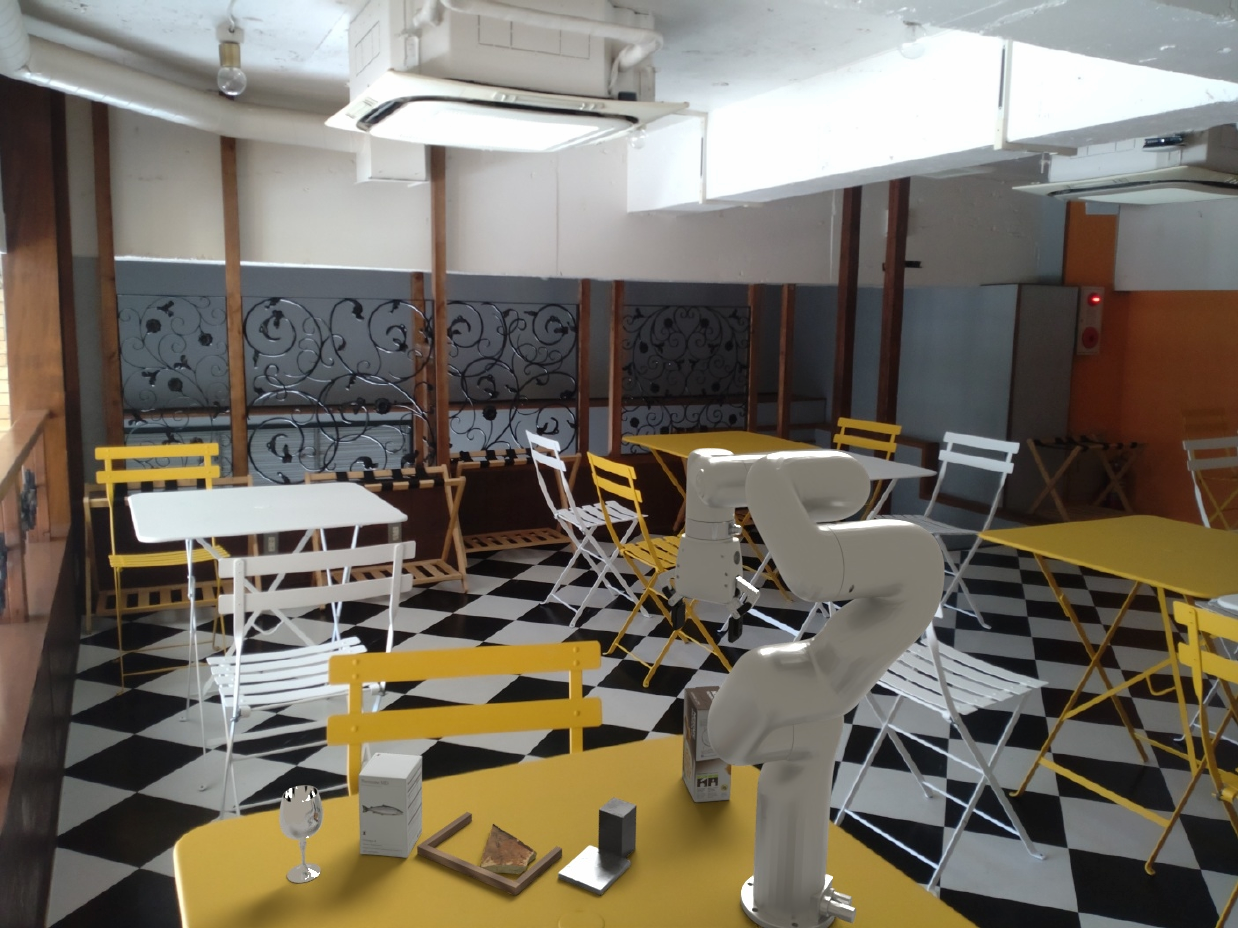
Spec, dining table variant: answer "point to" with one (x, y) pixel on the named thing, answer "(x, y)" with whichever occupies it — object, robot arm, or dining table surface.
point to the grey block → (605, 849)
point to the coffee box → (702, 749)
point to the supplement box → (390, 804)
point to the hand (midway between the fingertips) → (705, 634)
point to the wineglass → (301, 826)
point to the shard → (506, 853)
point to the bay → (478, 872)
